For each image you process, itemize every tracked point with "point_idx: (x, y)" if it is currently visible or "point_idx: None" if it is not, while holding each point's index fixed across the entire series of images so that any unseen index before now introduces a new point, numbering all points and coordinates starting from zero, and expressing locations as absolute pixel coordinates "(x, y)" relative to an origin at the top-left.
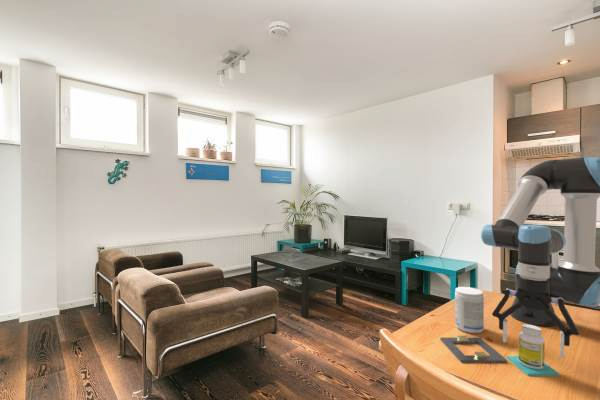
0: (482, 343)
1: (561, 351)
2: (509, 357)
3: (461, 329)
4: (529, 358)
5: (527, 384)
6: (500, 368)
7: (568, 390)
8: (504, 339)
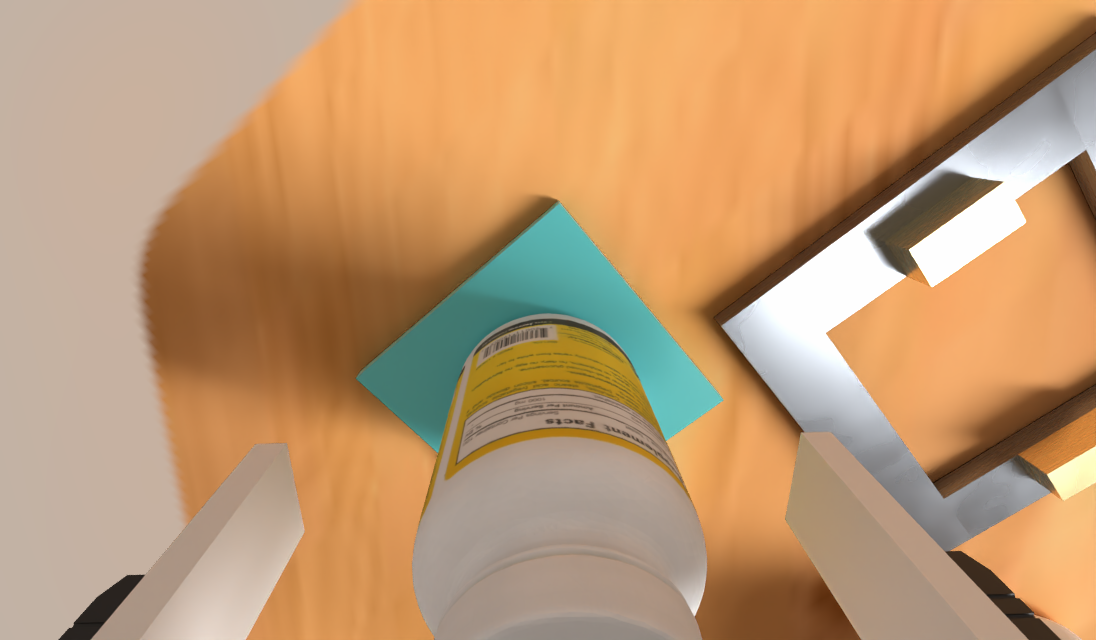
0: (903, 486)
1: (243, 489)
2: (701, 390)
3: (1046, 618)
4: (559, 342)
5: (550, 25)
6: (763, 170)
7: (275, 169)
8: (831, 451)
